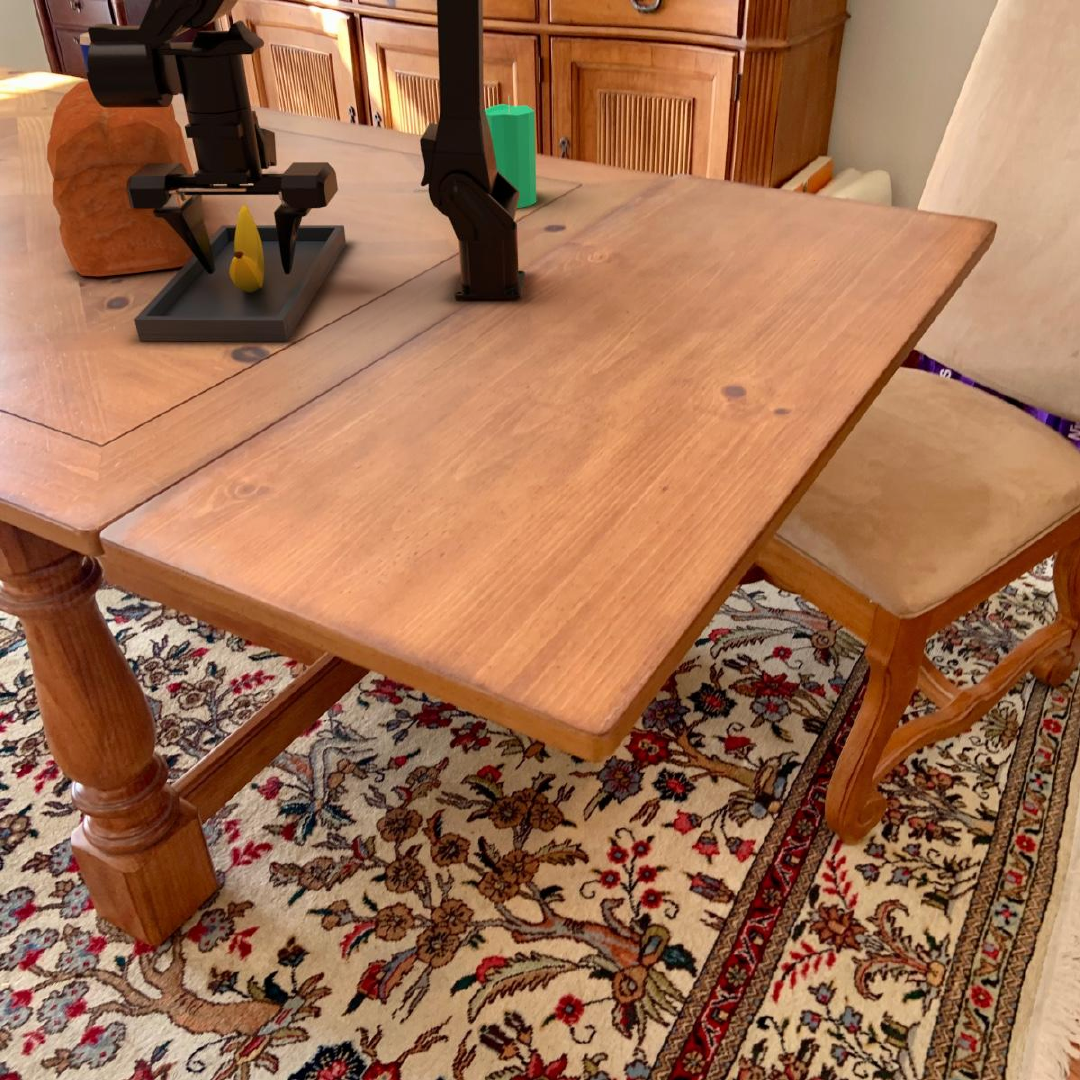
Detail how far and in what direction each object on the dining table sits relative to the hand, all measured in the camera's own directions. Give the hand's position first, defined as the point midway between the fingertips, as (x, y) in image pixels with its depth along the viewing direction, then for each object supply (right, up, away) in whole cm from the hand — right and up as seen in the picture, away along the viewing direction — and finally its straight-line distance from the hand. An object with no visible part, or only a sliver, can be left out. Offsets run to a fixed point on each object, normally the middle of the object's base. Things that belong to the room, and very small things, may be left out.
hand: (250, 272), depth 102 cm
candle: (+26, +14, +22) cm, 37 cm away
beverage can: (-31, +30, +46) cm, 63 cm away
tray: (0, -1, +1) cm, 2 cm away
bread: (-17, +8, +15) cm, 24 cm away
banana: (0, -1, +1) cm, 1 cm away
